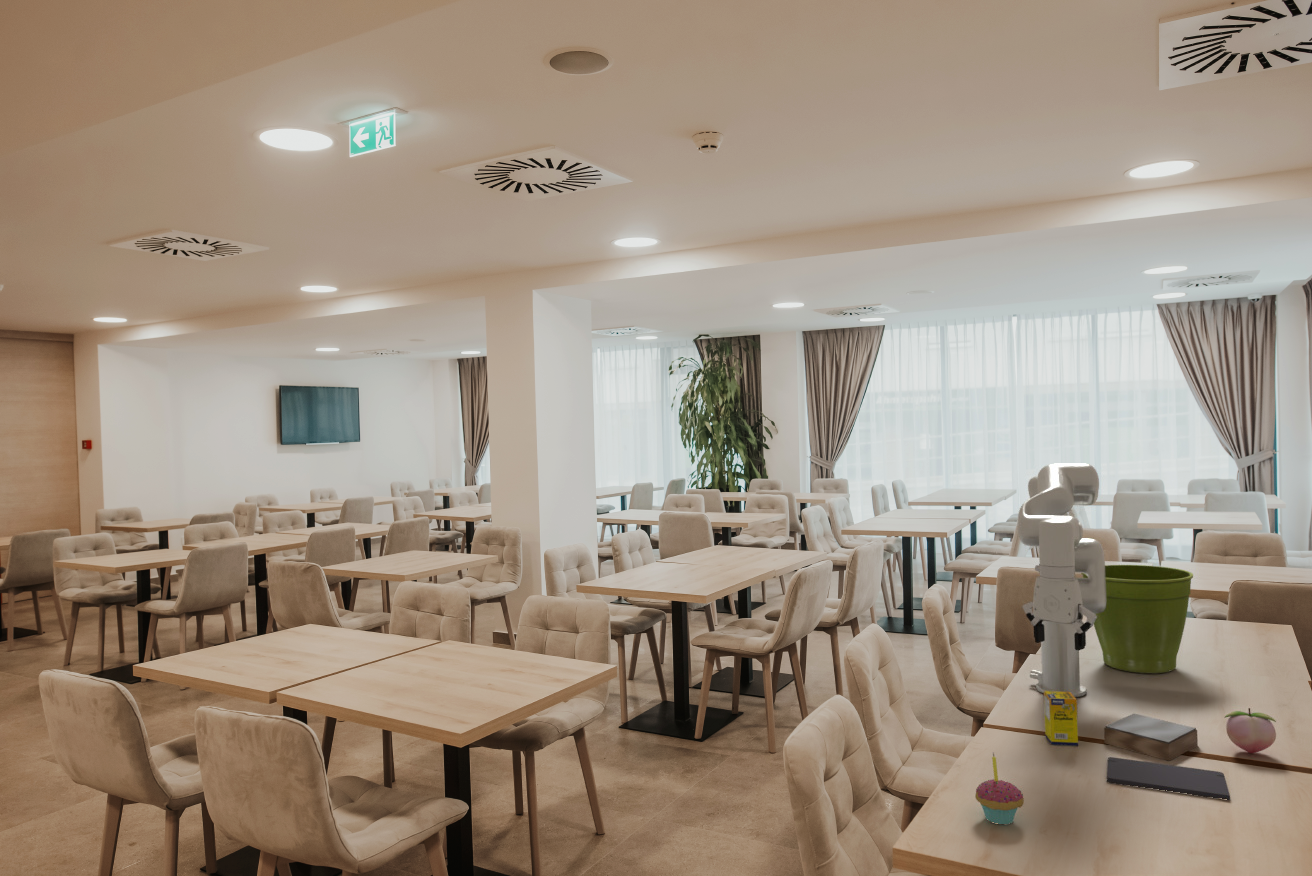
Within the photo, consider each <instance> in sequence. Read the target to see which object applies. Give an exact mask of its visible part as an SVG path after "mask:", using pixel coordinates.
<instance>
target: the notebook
mask: <svg viewBox="0 0 1312 876" xmlns="http://www.w3.org/2000/svg"><path fill="white" fill-rule="evenodd" d="M1106 764H1107V765H1106V767H1107V768H1106V783H1107V782H1109V783H1108V784H1113V783H1116V784H1115V785H1119V784H1122V785H1121V786H1126V785H1130V786H1129V787H1133V786H1138V787H1137V788H1140V787H1145V788H1144V789H1146V788H1153V789H1159V790H1158V791H1160V790H1165V791H1164V792H1167V791H1173V792H1180V793H1187V794H1192V795H1191V796H1194V795H1198V796H1197V797H1200V796H1203V797H1202V798H1207V797H1213V798H1212V799H1214V798H1222V799H1227V800H1230V801H1231V794H1230V791H1229V788H1228V784H1227V780H1226V777H1225V774H1224V772H1221V771H1217V770H1208V769H1202V768H1194V767H1187V766H1180V765H1174V764H1173V765H1172V764H1165V763H1157V762H1150V761H1143V760H1138V759H1137V760H1136V759H1128V758H1121V757H1112V756H1108V757H1107V763H1106ZM1153 789H1152V790H1153ZM1166 790H1167V791H1166ZM1173 792H1172V793H1173ZM1180 793H1179V794H1180ZM1187 794H1186V795H1187ZM1227 800H1226V801H1227Z"/></svg>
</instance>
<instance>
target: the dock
mask: <svg viewBox="0 0 1312 876" xmlns="http://www.w3.org/2000/svg"><path fill="white" fill-rule="evenodd" d="M1103 732H1104V738H1103V739H1104V744H1106V745H1108V746H1109V745H1110V746H1112V747H1113V746H1114V747H1117V748H1121V749H1124V750H1128V751H1131V752H1132V751H1133V752H1135V753H1140V754H1142V755H1147V756H1150V757H1154V758H1158V759H1161V760H1165V761H1168V762H1170V761H1172V760H1173V759H1176V758H1177V757H1179V756H1181V755H1183V754H1185V753H1186V752H1188V750H1189V751H1190V749H1191V750H1193V749H1194V748H1196V747H1198V743H1199V742H1198V729H1197V728H1196V727H1193V726H1190V725H1189V726H1188V725H1185V724H1184V725H1183V724H1180V723H1176V722H1172V721H1168V720H1163V719H1158V718H1155V717H1151V716H1146V715H1141V714H1139V713H1138V714H1137V713H1132V714H1130V715H1128V716H1125V717H1123V718H1120V719H1117V720H1116V721H1113V722H1112V723H1109V724H1107V725H1105V726H1104V728H1103Z"/></svg>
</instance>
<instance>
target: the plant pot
mask: <svg viewBox="0 0 1312 876" xmlns="http://www.w3.org/2000/svg"><path fill="white" fill-rule="evenodd" d="M1080 574H1081V575H1082V578H1088V576H1087V575H1086V574H1084V573H1080ZM1105 574H1106V593H1107V603H1106V608H1105V610H1104V611H1103V612H1102V613H1097V614H1096V616H1097V618H1096V620H1095V622H1094V623H1093V626H1094V631H1095V633H1096V636H1097V640H1098V642H1099V645H1100V648H1101V651H1102V659H1103V662H1104V664H1106V665H1107V666H1109V667H1110V668H1113V669H1116V670H1119V671H1124V672H1130V673H1131V672H1132V673H1138V674H1139V673H1140V674H1161V673H1168V672H1169V673H1170V672H1172V671H1174V670H1175V669H1176V668H1177V658H1178V654H1179V650H1180V646H1181V642H1182V638H1183V635H1184V631H1185V625H1186V622H1187V621H1186V619H1187V615H1188V607H1189V602H1190V600H1189V599H1190V595H1191V587H1192V586H1191V584H1192V579H1193V578H1194V573H1192V572H1190V571H1189V570H1185V569H1179V568H1176V567H1167V566H1157V565H1156V566H1155V565H1145V564H1144V565H1142V564H1105Z"/></svg>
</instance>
